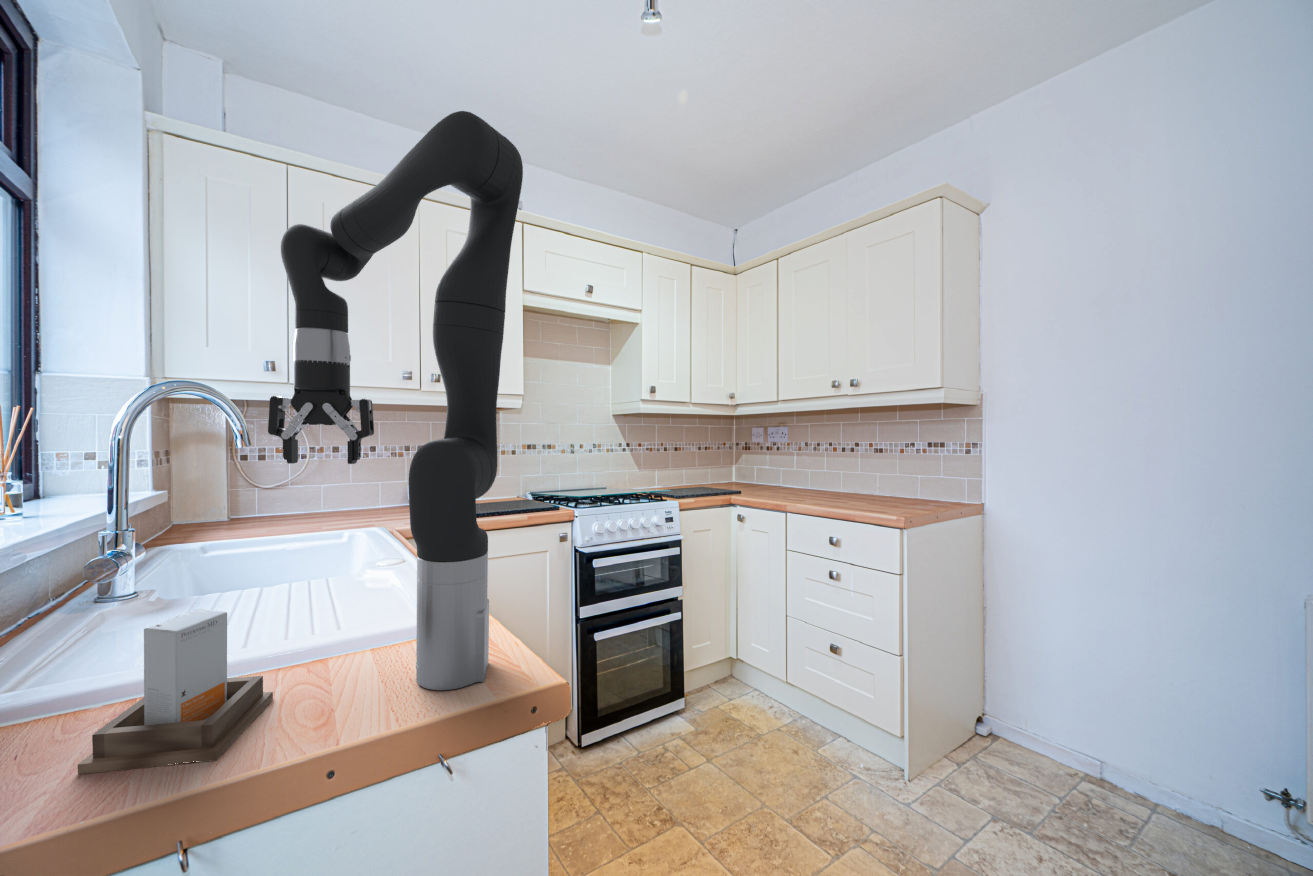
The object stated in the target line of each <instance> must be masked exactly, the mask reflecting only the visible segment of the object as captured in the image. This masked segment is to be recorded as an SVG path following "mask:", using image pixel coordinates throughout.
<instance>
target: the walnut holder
mask: <svg viewBox="0 0 1313 876" xmlns="http://www.w3.org/2000/svg"><path fill="white" fill-rule="evenodd" d="M273 697H274V692H273V691H266V692H265V691H264V676H263V675H254V676H242V677H241V676H240V677H229V678H228V677H227V702H226V703H225V704H224V705H223V706H221V707H220V708H219V709H218V710H217V711H216V712H215V713H214V714H213V715H212V716H211V717H210V718H209V719H208V720H201V721H189V722H177V723H166V724H154V725H144V697H142V698H141V699H140V700H138V701H137V702H135V703H134V704H132V705H131V706H130V707H129V708H127V709H126V710H124V711H123V712H122V713H120V714H119V715H117V716H116V717H115V718H113V719H112V720H110V721H109V722H108V723H107V724H105V725H103V726H102V727H101V728H100V729H98V730H97V731H95V732H94V733H93V734H92V735H91V737H92V738H91V739H92V740H91V741H92V753H91V754H89V755H88V756H87V757H85V758H84V759H83V760H82V761H80V762H79V763H77V775H82V774H83V775H84V774H85V775H86V774H93V773H103V772H104V773H105V772H116V771H123V770H136V769H142V768H143V769H145V768H153V767H152V766H156V767H163V765H166V766H169V765H168V764H175V763H176V765H178V764H177V763H183V762H193V761H194V762H196V761H206V762H213V761H212V760H216V761H218V760H219V759H220V758H221V756H222V755H223V754H224V753H225V752H226V751H227V750H228V749H229V748H230V747H231V745H232V744H234V742H235V741H236V740H237V739H238V738H239V737H240V736H241V735H242V734H243V733H244V732H245V730H246V729H247V728H248V727H249V726H250V725H251V724H252V723H253V721H255V719H256V718H257V717H258V716H259V715H260V714H261V713H262V712H263V711H264V710H265V708H266V707H267V706H269V704H270V703H271V702H272V701H273V700H274V698H273ZM217 759H218V760H217ZM210 760H211V761H210ZM196 763H197V762H196ZM161 765H162V766H161Z"/></svg>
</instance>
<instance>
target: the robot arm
mask: <svg viewBox="0 0 1313 876" xmlns="http://www.w3.org/2000/svg"><path fill="white" fill-rule="evenodd" d="M523 168H524V166H523V160H522V156H521V154H520V152H519V149H518V148H517V147H516V145H515V144H513V142H511V141H510V140H509V139H508V138H507V137H506V136H504V135H503V134H501V133H500V132H499V131H498V130H497V129H496V128H494V127H493V126H492V125H491V124H490V123H488V122H487V121H485V120H484V119H482V118H481V117H480V116H478V115H476V114H474V113H472V112H471V111H465V110H459V111H455V112H452V113H450V114H448V115H447V116H445V117H443V118H442V119H440V121H438V122H437V123H436V124H435V125H434V126H433V127H432V128H431V129H430V130H429V131H427V133H426V134H425V135H424V136H423V137H422V138H420V140H418V142H417V143H416V144H415V146H413V147H412V148H411V149H410V150H409V151H408V152H407V153H406V154H405V156H403V158H402V159H400V160H399V161H398V163H397V164H396V165H395V166H394V167H393V168H392V169H391V171H389V173H387V175H386V176H385V177H384V178H383V179H381V180H380V182H378V183H377V184H376V185H374V186H373V187H372V188H371V189H369V190H368V191H367V192H365V193H364V194H362V195H361V196H359V197H358V198H356V199H354V200H353V201H351V202H350V203H348V204H347V205H346V206H344V207H342V208H341V209H339V210H338V211H337V212H336V213H335V214H334V215H333V216H332V218H331V220H330V231H331V232H328V231H325V230H322V229H320V228H317V227H313V226H311V225H307V224H304V223H297V224H293V225H291V226H290V227H288V229H286V230H285V232H284V234H283V236H282V238H281V241H280V257H281V261H282V264H283V267H284V270H285V273H286V276H287V277H286V278H287V280H288V282H289V283H288V284H289V286H290V291H291V293H292V296H293V300H294V305H295V307H294V308H295V309H294V312H295V313H294V315H295V317H294V318H295V321H294V322H295V324H294V325H295V330H294V339H293V396H292V397H290V398H289V397H284V396H281V395H278V396H277V395H273V396H271V397H270V398H269V407H268V421H267V423H268V424H267V432H268V434H269V435H271V436H276V437H279V438H280V439H281V440H282V458H283V459H284V460H285V461H286V463H287V464H296V463H298V462H299V439H297V438H296V437H298V435H300V433H301V432H302V431H303V430H304V429H305V428H306V427H307V426H308V425H309V426H311V425H312V426H317V425H318V426H319V425H323V426H337V427H338V428H339V429H340V430H341V431H343V433H345V435H346V436H347V437H348V439H349V440H347V465H354V464H357V462H358V460H361V457H362V440H363V439H364V438H367V437H371V436H373V435H374V434H375V424H374V407H373V401H372V400H371V399H370V398H369V399H368V398H360V399H352V397H351V361H352V357H351V356H352V355H351V345H350V337H349V307H348V302H347V300H346V299H345V298H344V297H342V296H341V295H339V294H337V293H336V292H334V291H332V290H330V289H329V288H328V287H327V285H326V283H325V281H324V279H326V280H329V281H333V282H347V281H350V280H353V279H355V278H356V277H357V276H358V275H359V274H360V273H361V272H362V270H363V269H364V268H365V266H366V265H367V264H368V263H369V261H370V260H371V259H372V257H373V255H375V254H376V253H378V252H380V251H381V250H383V249H385V248H386V247H388V246H390V245H391V244H393V243H394V242H396V241H398V240H399V239H401V238H402V237H403V236H404V235H405V234H406V233H407V232H408V230H409V229H410V228H411V226H412V224H413V222H414V219H415V216H416V213H417V210H418V207H419V205H420V202H421V201H422V200H423V199H424V198H425V197H426V196H427V195H429V194H430V193H432V192H435V191H436V190H439V189H442V188H443V187H444V188H445V187H447V186H451V187H453V188H454V189H456V190H458V191H460V192H461V193H463V194H464V195H466V196H468V197H469V198H470V199H469V200H470V213H469V214H470V215H469V224H468V231H467V236H466V239H465V242H464V244H463V245H462V247H461V249H460V251H459V252H458V254H456V256H455V258H454V259H453V260H452V262H451V263H450V265H449V266H448V267H447V268H446V270H445V272H444V273H443V274H442V277H441V278H440V280H439V282H438V284H437V287H436V291H435V295H434V296H435V297H434V303H433V304H434V306H433V320H432V322H433V323H432V345H433V350H434V354H435V358H436V361H437V366H438V370H439V373H440V376H441V378H442V379H441V380H442V382H443V385H444V386H443V387H444V389H445V395H446V396H445V397H446V420H445V427H444V435H443V438H439V439H435V440H430V441H428V442H426V443H425V444H423V445H422V446H420V447H419V449H417V450H416V451H415V453H414V454H413V457H412V460H411V463H410V464H409V465H410V466H409V471H408V504H409V523H410V525H409V526H410V527H409V528H410V532H411V536H412V538H413V541H414V543H415V545H416V648H415V649H416V652H415V653H416V659H415V661H416V663H415V669H416V674H415V675H416V683H417V684H418V686H421V687H422V688H425V689H428V690H432V691H448V690H449V691H450V690H451V691H452V690H455V689H461V688H463V687H467V686H470V685H473V684H474V683H475V684H476V683H482V682H483V683H484V682H485V679H486V675H487V674H486V673H487V670H488V667H489V647H490V645H489V644H490V643H489V642H490V640H489V639H490V638H489V637H490V636H489V634H490V630H489V629H490V600H489V598H488V587H489V586H488V582H489V580H488V579H489V578H488V575H489V573H488V572H489V568H488V567H489V562H488V561H489V557H488V556H489V535H488V533H487V531H486V530H485V529H483V528H481V527H479V525H478V521H477V503H476V502H477V499H479V498H481V497H482V496H484V495H485V494H487V493H488V492H489V491H490V489H491V488H492V486H493V484H494V482H495V481H496V477H497V473H498V437H497V435H498V433H497V431H498V429H497V428H498V427H497V406H498V403H497V402H498V393H499V385H500V374H501V373H500V372H501V361H502V350H503V342H504V334H505V333H504V331H505V319H506V308H507V307H506V305H507V303H506V302H507V300H506V299H507V288H508V277H509V269H510V268H509V267H510V260H511V252H512V251H511V249H512V242H513V236H514V229H515V224H516V220H517V213H518V209H519V204H520V198H521V193H522V192H521V191H522V185H523V177H524V170H523ZM290 406H292V408H293V409H294V410H295V412H296V414H295V416H294V417H293V418H292V419H291V420H290V422H289V423H288V426H286V428H285V422H286V412H287V411H288V410H289V409H290ZM353 407H354V408H355V411H356V412H357V413H359V415H360V416H359V419H360V430H359V428H357V426H356V425H355V423H354V421H353V420H352V418H350V416H349V415H348V413H349V412H350V411H351V409H352V408H353Z"/></svg>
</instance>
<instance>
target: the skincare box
mask: <svg viewBox="0 0 1313 876" xmlns="http://www.w3.org/2000/svg"><path fill="white" fill-rule="evenodd" d="M143 660H144V661H143V698H144V725H154V724H166V723H177V722H189V721H201V720H208V719H209V718H210V717H211V716H212V715H213V714H214V713H215V712H216V711H217V710H218V709H219V708H220V707H221V706H223V705H224V704H225V703H226V702H227V678H228V612H226V611H219V610H212V609H211V610H209V609H202V608H198V609H195V610H192V611H190V612H187V613H185V614H181V615H176V616H174V617H171V618H168V619H167V620H164V621H162V622H159V623H155V624H154V625H150V626H148V627H145V628H143Z"/></svg>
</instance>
